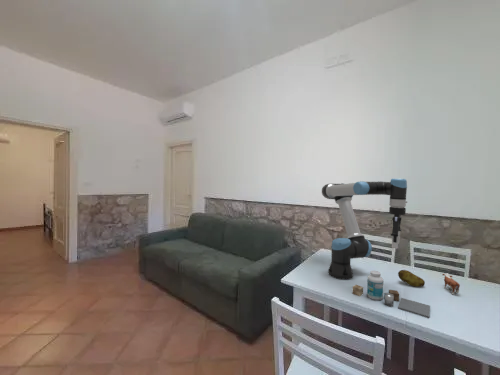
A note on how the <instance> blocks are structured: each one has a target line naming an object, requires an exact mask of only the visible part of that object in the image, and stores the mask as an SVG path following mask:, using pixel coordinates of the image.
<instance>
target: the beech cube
mask: <svg viewBox="0 0 500 375" xmlns="http://www.w3.org/2000/svg"><path fill="white" fill-rule="evenodd" d="M351 291H352V293H351V294H353V295H355V296H357V297H361V296H363V295H364V287H363V286H361V285H359V284H355V285H353V286H352V290H351ZM362 294H363V295H362Z"/></svg>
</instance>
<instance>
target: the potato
mask: <svg viewBox="0 0 500 375" xmlns="http://www.w3.org/2000/svg"><path fill="white" fill-rule="evenodd" d="M397 276H398V277H399V279H400V280H401V282H404V283H406V284H407V285H409V286H411V287H417V288H419V287H420V288H421V287H424V286H425V283H426V282H425V280H424V279H423V278H421V277H420V276H418V275H416V274H415V273H412V272H411V271H409V270H408V269H407V270H406V269H401V270H399V271H398V272H397Z"/></svg>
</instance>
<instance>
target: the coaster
mask: <svg viewBox="0 0 500 375" xmlns="http://www.w3.org/2000/svg"><path fill="white" fill-rule="evenodd" d="M397 309H399V310H401V311H404V312H407V313H411V314H414V315H417V316H420V317H423V318H424V317H425V318H427V319H429V318H430V311H431V305H429V304H425V303H422V302H418V301H415V300H412V299H407V298H404V297H401V298H400V299H399V303H398V305H397Z"/></svg>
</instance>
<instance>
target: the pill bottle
mask: <svg viewBox="0 0 500 375" xmlns="http://www.w3.org/2000/svg"><path fill="white" fill-rule="evenodd" d="M381 274H382V273H381V272H380V271H378V270H371V271H370V274H369V275H368V276H367V280H366V281H367V283H366V284H367V285H366V286H367V287H366V288H367V290H366V291H367V292H366V293H367V294H366V295H367V296H366V297H368V298H369V299H371V300H374V301H381V300H384V299H383V298H384V279H383V277H382V276H381Z"/></svg>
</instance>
